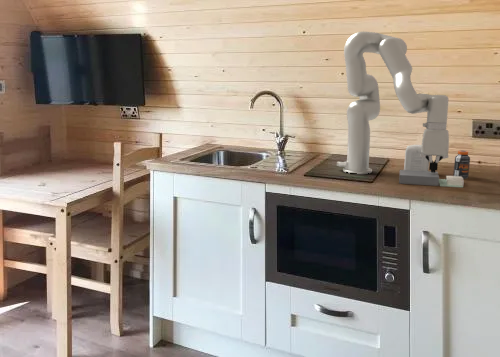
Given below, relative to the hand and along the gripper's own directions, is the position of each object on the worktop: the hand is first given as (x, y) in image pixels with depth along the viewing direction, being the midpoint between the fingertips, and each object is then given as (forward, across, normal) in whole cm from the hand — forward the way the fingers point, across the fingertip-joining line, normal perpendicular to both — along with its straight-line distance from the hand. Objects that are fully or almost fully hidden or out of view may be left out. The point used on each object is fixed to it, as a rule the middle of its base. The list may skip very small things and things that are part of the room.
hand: (433, 171), depth 213 cm
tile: (+2, +8, 0) cm, 9 cm away
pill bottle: (+5, +12, +14) cm, 19 cm away
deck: (+4, -5, 0) cm, 7 cm away
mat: (+4, +7, 0) cm, 8 cm away
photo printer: (+5, -6, +18) cm, 20 cm away
